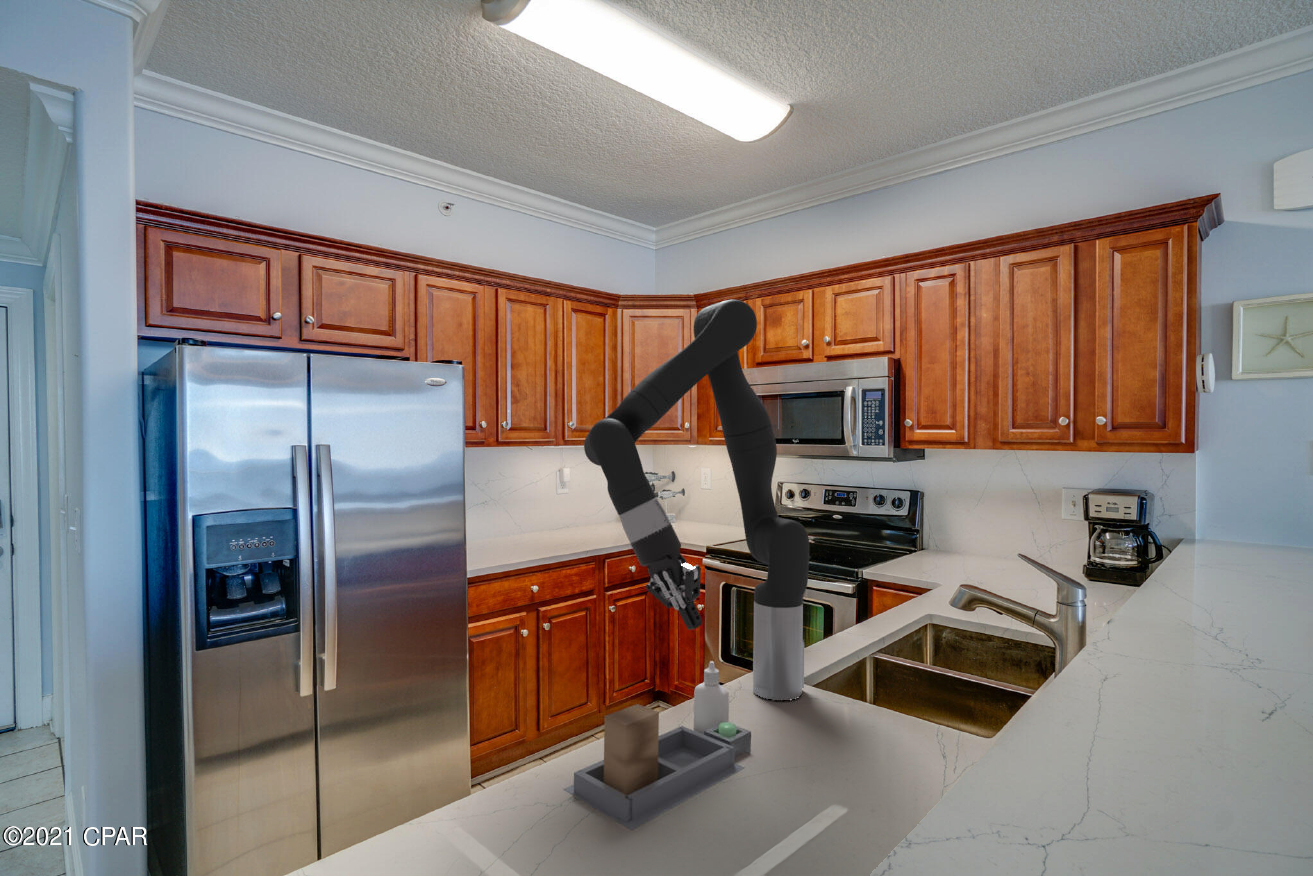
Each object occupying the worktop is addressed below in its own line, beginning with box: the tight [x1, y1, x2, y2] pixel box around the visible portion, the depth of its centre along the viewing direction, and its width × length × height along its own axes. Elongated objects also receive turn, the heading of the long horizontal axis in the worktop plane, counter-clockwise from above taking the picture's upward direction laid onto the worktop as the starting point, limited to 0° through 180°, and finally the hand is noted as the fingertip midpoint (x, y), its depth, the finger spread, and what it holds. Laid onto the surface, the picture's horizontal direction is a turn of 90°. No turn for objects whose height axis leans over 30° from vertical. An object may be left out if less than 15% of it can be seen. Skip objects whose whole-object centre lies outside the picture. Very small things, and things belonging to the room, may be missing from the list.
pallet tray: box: [563, 725, 745, 831], centre depth 91 cm, size 22×13×4 cm, turn 136°
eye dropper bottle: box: [693, 660, 730, 735], centre depth 107 cm, size 4×6×12 cm
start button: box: [719, 722, 737, 738], centre depth 100 cm, size 3×3×3 cm
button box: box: [704, 722, 752, 758], centre depth 100 cm, size 5×5×4 cm
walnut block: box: [603, 703, 660, 796], centre depth 87 cm, size 6×4×10 cm, turn 136°
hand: (695, 627), depth 109 cm, fingers closed
